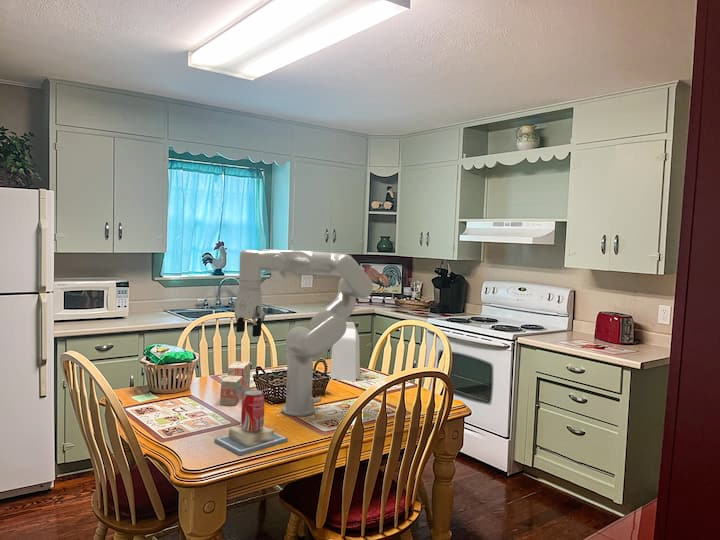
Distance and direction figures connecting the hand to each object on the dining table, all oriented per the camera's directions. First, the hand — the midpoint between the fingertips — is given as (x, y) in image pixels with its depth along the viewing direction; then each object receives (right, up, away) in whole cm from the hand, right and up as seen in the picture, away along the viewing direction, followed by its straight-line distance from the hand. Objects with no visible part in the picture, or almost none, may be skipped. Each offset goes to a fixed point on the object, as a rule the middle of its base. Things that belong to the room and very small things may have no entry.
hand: (248, 334), depth 197 cm
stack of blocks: (-11, -29, +27) cm, 41 cm away
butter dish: (+5, -32, -19) cm, 37 cm away
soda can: (+5, -28, -19) cm, 34 cm away
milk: (+32, -28, +64) cm, 77 cm away
